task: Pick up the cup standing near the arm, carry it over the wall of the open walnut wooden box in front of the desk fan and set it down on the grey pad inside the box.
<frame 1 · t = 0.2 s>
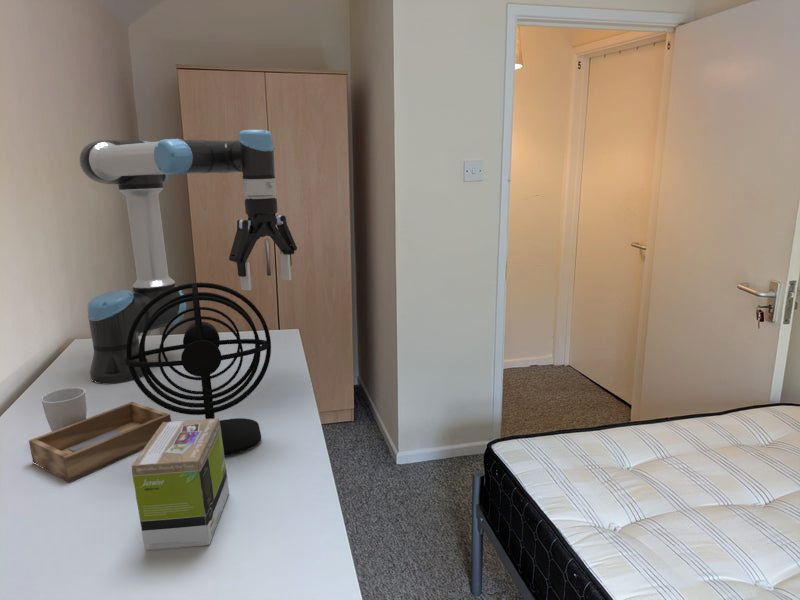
hand: (267, 284, 142), 28 cm above the table, tool pointing down, fingers open, 13 cm apart
cup: (70, 438, 125), on the table
tea box: (190, 521, 94), on the table
wooden box: (106, 449, 119), on the table
desk fan: (211, 446, 120), on the table
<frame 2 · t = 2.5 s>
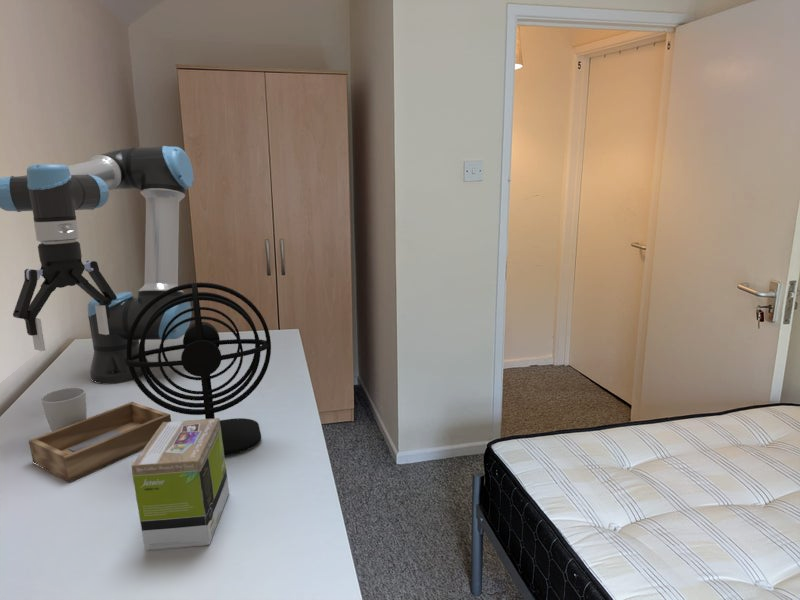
hand: (73, 341, 122), 21 cm above the table, tool pointing down, fingers open, 13 cm apart
nothing on the table moved.
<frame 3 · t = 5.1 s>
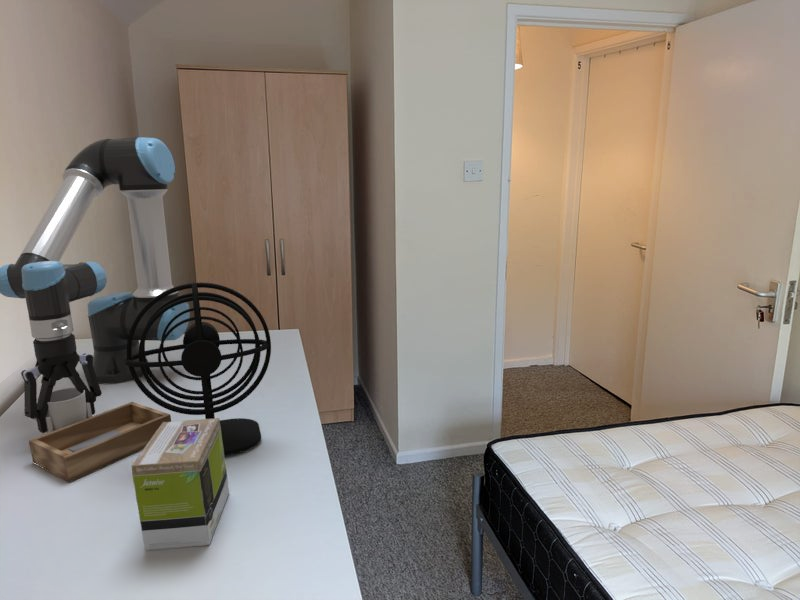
hand: (70, 436, 125), 0 cm above the table, tool pointing down, fingers closed on cup, 8 cm apart
cup: (70, 438, 125), on the table, touching gripper
everything else where it was.
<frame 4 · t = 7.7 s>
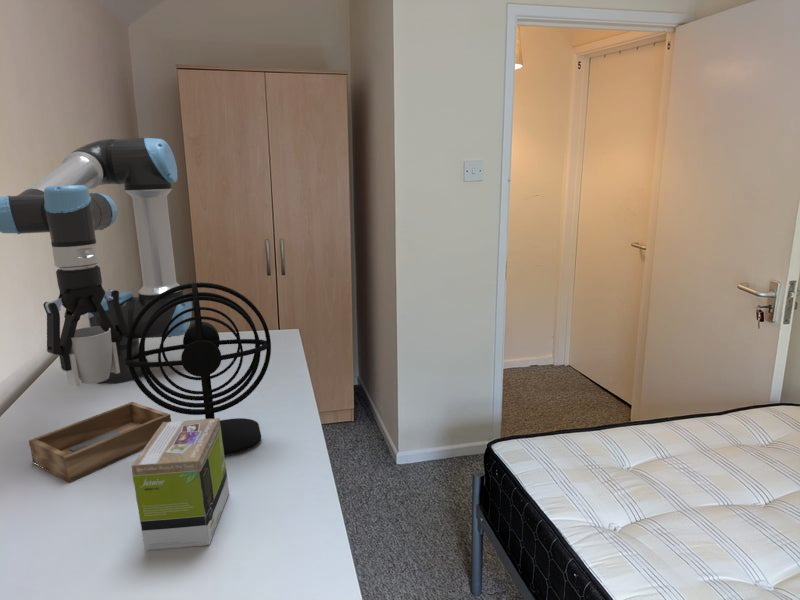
hand: (95, 378, 116), 16 cm above the table, tool pointing down, fingers closed on cup, 8 cm apart
cup: (95, 380, 116), point 15 cm above the table, touching gripper
everything else where it was.
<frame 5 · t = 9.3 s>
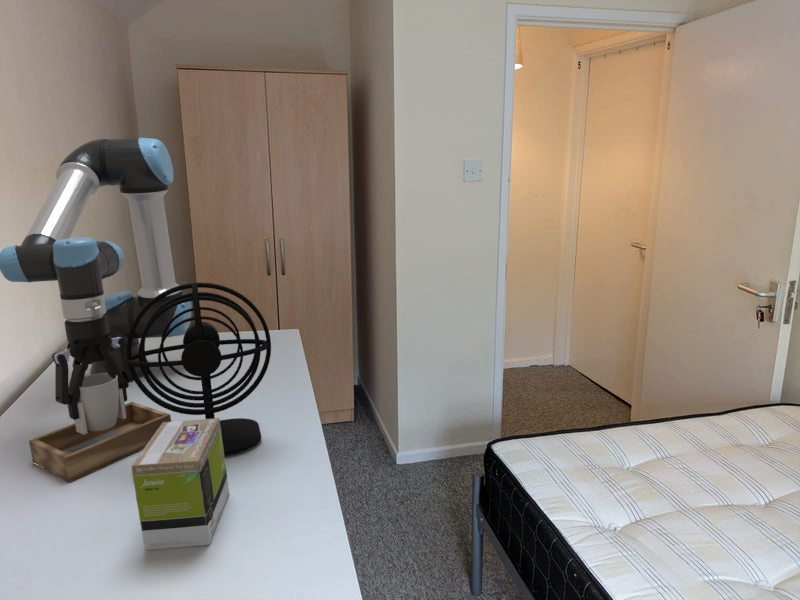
hand: (102, 424, 118), 6 cm above the table, tool pointing down, fingers closed on cup, 8 cm apart
cup: (102, 426, 118), point 5 cm above the table, touching gripper
everything else where it was.
when the fingers open (3 cm above the table, at t = 10.4 s): cup drops 1 cm, resting on wooden box.
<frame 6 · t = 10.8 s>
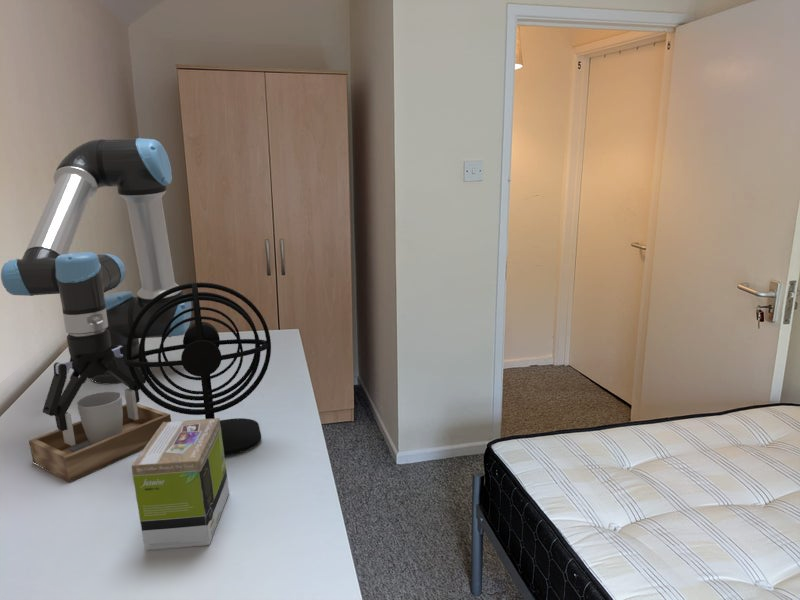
hand: (103, 430, 118), 4 cm above the table, tool pointing down, fingers open, 13 cm apart
cup: (106, 445, 119), point 1 cm above the table, touching wooden box
everything else where it was.
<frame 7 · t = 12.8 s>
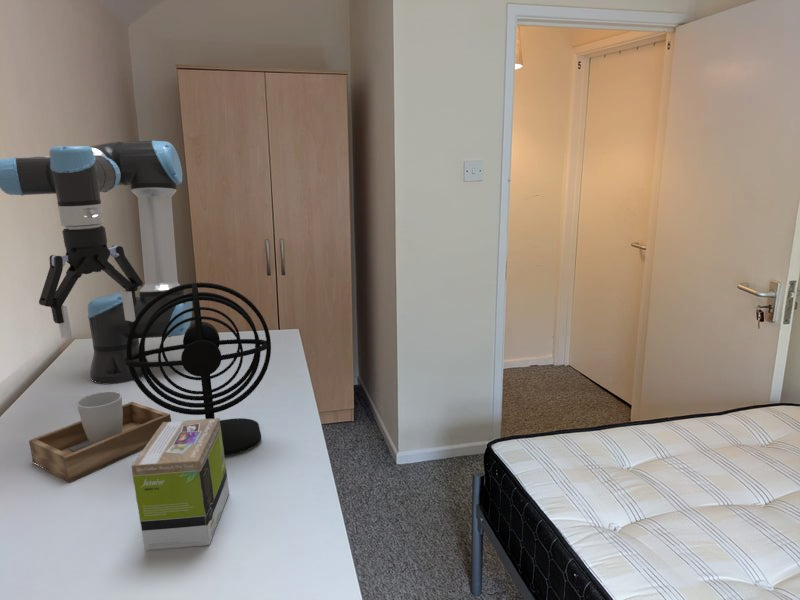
hand: (100, 329, 119), 24 cm above the table, tool pointing down, fingers open, 13 cm apart
nothing on the table moved.
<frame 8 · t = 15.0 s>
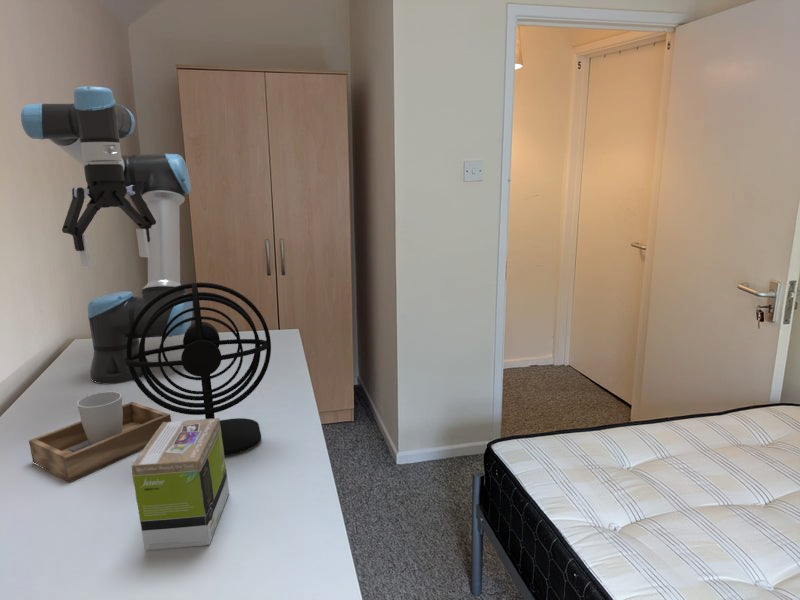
hand: (116, 261, 128), 37 cm above the table, tool pointing down, fingers open, 13 cm apart
nothing on the table moved.
at the end: cup inside the target area on the wooden box (0.2 cm from its centre), point 0.8 cm above the wooden box's base; cup tilted 0°; the gripper is holding nothing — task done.
